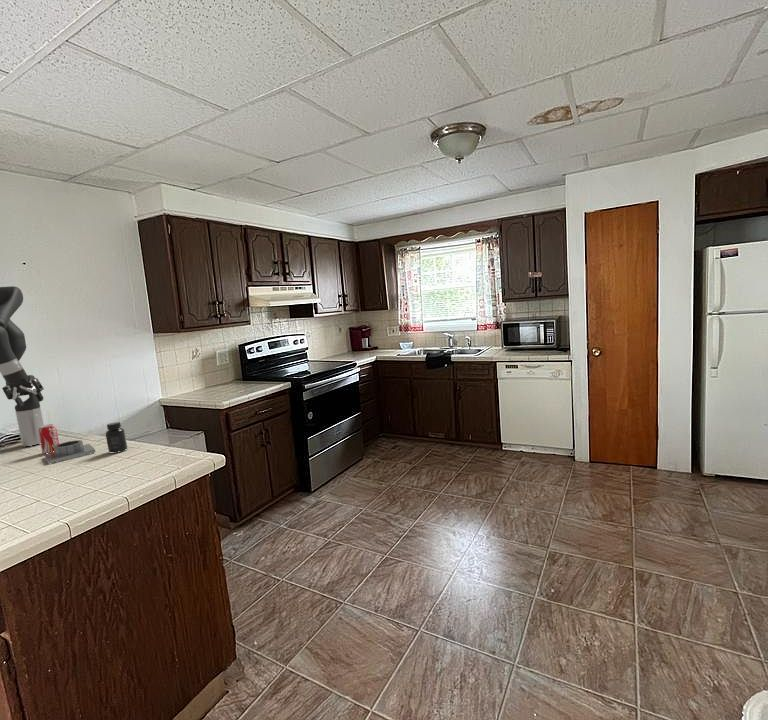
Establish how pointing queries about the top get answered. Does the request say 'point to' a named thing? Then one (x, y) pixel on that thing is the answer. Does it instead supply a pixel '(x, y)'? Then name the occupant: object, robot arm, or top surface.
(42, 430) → the beverage can
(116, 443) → the supplement bottle
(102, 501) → the top surface
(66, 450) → the duct collar
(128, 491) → the top surface
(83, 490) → the top surface
